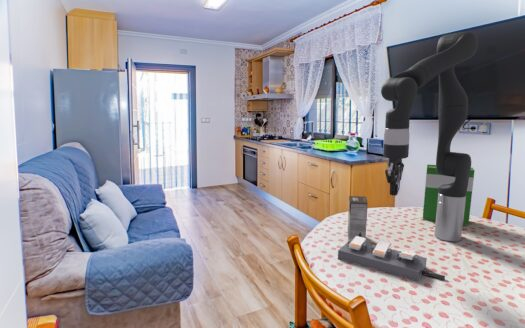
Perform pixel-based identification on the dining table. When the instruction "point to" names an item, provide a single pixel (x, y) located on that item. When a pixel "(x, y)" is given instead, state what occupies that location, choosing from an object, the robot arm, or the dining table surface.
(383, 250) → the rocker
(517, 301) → the dining table surface
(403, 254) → the rocker
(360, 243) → the block
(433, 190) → the hardback book
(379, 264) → the power strip
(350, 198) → the coffee box
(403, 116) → the robot arm
